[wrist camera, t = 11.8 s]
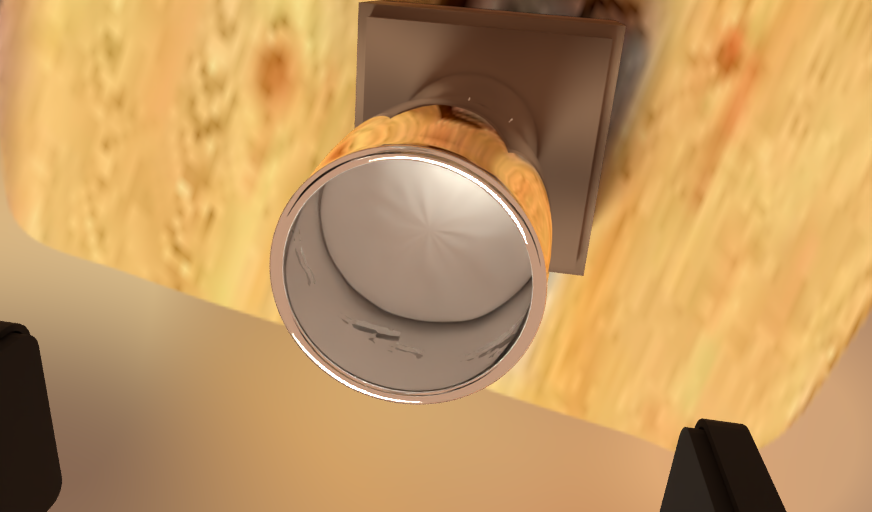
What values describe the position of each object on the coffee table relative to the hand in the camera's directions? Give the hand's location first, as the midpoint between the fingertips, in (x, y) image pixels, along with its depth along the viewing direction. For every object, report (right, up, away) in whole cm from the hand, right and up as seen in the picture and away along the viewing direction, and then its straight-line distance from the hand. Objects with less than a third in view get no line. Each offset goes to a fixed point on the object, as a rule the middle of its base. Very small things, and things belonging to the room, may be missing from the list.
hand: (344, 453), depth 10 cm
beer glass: (+3, +8, +20) cm, 22 cm away
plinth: (+4, +9, +24) cm, 26 cm away
